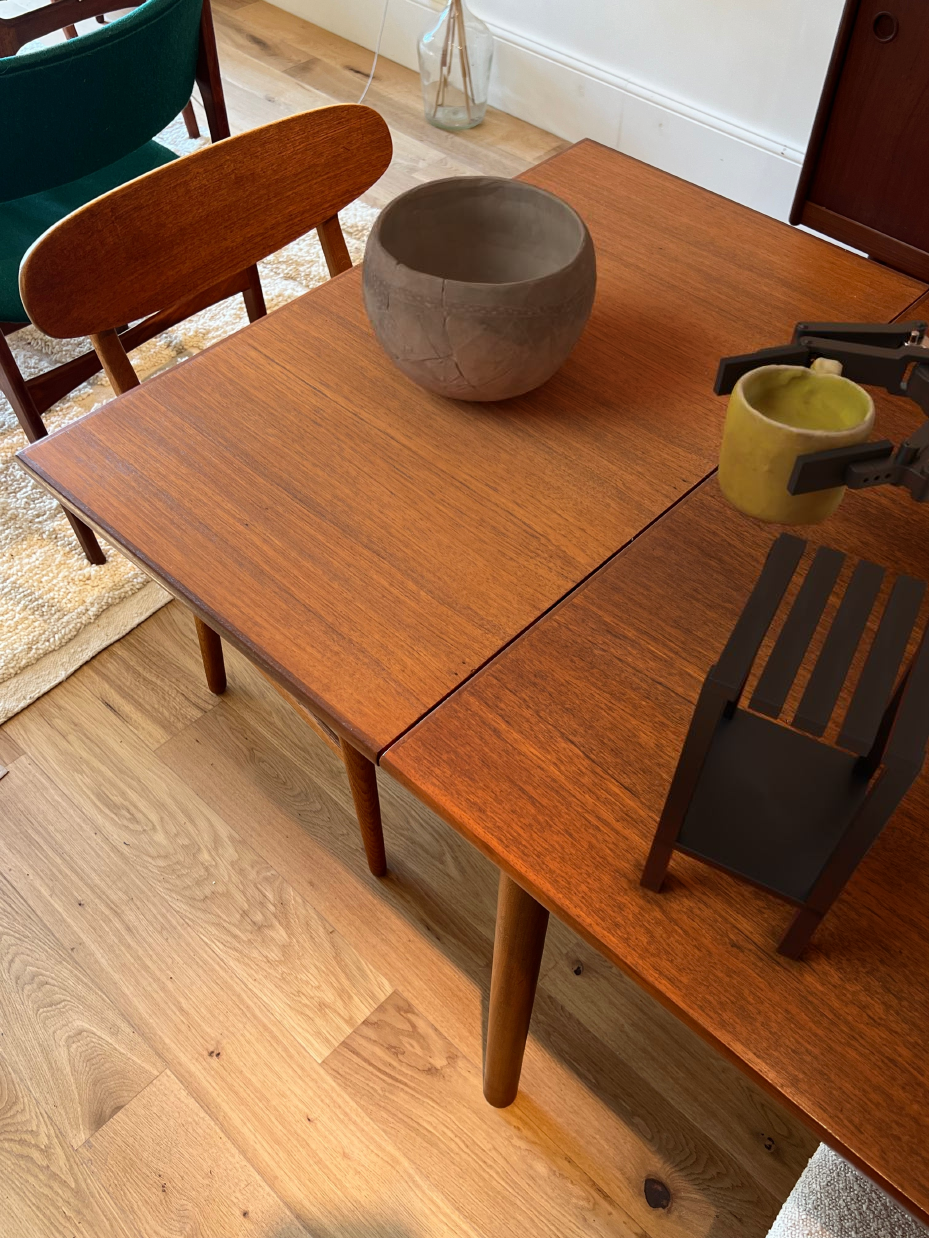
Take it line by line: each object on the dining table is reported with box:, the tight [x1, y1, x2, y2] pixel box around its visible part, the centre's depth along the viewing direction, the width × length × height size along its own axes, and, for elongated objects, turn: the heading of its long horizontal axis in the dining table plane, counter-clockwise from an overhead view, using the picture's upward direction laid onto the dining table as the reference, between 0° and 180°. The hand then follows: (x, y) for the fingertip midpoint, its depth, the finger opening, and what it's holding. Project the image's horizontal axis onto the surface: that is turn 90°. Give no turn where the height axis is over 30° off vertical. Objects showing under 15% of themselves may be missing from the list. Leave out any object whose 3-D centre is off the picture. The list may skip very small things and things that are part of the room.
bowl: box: [361, 175, 598, 402], centre depth 90 cm, size 21×21×15 cm
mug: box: [717, 358, 876, 528], centre depth 69 cm, size 12×10×10 cm
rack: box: [638, 531, 929, 962], centre depth 55 cm, size 10×11×21 cm
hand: (754, 424), depth 67 cm, fingers closed on mug, 10 cm apart
